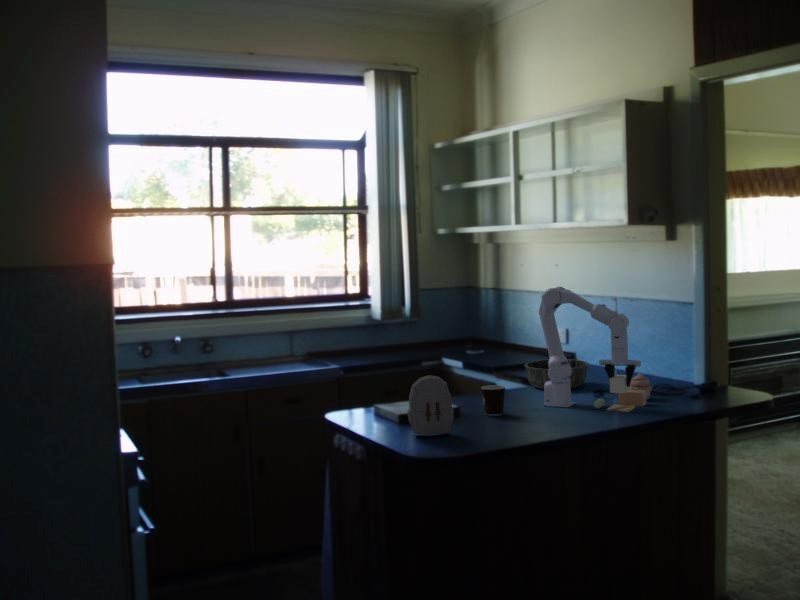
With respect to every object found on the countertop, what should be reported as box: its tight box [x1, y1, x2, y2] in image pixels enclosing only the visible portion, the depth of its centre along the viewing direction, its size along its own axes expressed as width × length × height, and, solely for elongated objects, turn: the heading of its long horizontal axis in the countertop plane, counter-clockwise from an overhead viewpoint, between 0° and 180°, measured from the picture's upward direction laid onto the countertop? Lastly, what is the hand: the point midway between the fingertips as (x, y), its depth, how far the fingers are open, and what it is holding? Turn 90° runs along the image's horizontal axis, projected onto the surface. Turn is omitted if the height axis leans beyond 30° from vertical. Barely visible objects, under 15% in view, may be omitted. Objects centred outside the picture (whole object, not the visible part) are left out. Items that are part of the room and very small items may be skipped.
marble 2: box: [597, 398, 606, 407], centre depth 293 cm, size 3×3×3 cm
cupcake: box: [630, 372, 654, 401], centre depth 303 cm, size 9×9×10 cm
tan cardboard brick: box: [617, 390, 647, 407], centre depth 294 cm, size 9×5×5 cm, turn 59°
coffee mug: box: [480, 384, 506, 414], centre depth 289 cm, size 12×9×10 cm
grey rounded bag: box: [407, 374, 455, 435], centre depth 259 cm, size 15×8×20 cm, turn 98°
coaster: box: [606, 404, 637, 413], centre depth 287 cm, size 8×8×1 cm
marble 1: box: [593, 399, 603, 410], centre depth 290 cm, size 3×3×3 cm
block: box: [609, 374, 631, 394], centre depth 286 cm, size 9×5×5 cm, turn 149°
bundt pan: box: [524, 358, 589, 390], centre depth 337 cm, size 26×26×10 cm
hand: (620, 385), depth 286 cm, fingers closed on block, 5 cm apart
